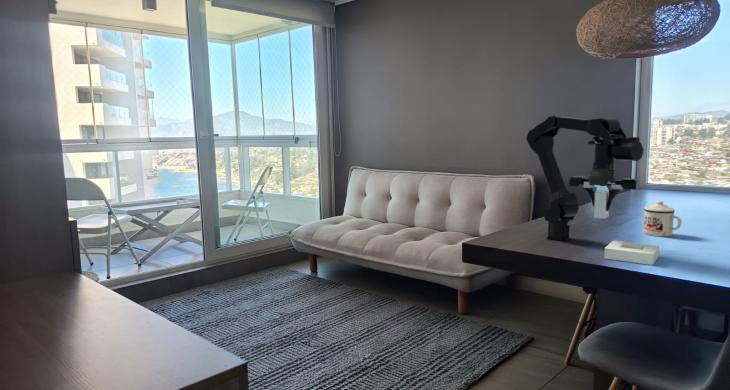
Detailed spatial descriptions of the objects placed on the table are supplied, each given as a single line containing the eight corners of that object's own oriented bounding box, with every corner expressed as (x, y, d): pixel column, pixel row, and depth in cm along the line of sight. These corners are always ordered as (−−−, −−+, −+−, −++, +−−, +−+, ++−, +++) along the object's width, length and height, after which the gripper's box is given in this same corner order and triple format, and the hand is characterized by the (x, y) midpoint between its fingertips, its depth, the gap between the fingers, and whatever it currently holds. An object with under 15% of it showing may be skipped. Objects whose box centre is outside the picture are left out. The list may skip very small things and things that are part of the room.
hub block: (604, 258, 136) (604, 248, 135) (613, 249, 145) (613, 240, 145) (652, 265, 128) (653, 254, 128) (658, 255, 138) (659, 245, 137)
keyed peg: (593, 217, 145) (595, 191, 144) (597, 215, 149) (598, 190, 148) (605, 218, 143) (606, 192, 142) (608, 216, 147) (610, 190, 146)
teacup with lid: (636, 233, 167) (639, 200, 166) (652, 230, 172) (654, 198, 170) (671, 239, 157) (674, 205, 155) (687, 236, 161) (690, 202, 159)
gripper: (564, 160, 143) (562, 211, 145) (634, 162, 132) (630, 217, 134) (574, 158, 152) (572, 206, 154) (641, 159, 140) (637, 211, 142)
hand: (601, 210), depth 146 cm, fingers closed on keyed peg, 3 cm apart
